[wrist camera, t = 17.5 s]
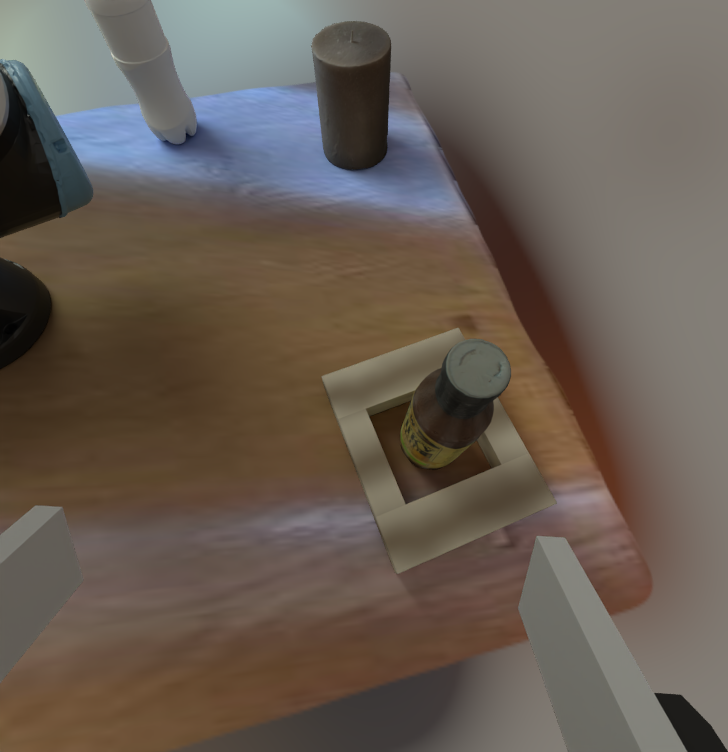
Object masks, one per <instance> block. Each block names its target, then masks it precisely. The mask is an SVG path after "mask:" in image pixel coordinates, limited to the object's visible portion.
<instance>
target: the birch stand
mask: <svg viewBox="0 0 728 752" xmlns="http://www.w3.org/2000/svg"><path fill="white" fill-rule="evenodd" d="M462 341H465V339H464V337H463V335H462V333H461V331H460V330H459V328H456V329H454V330H451V331H448V332H445V333H442V334H440V335H437V336H434V337H431V338H428V339H426V340H423V341H420V342H417V343H414V344H411V345H409V346H406V347H403V348H400V349H397V350H395V351H392V352H389V353H386V354H383V355H381V356H378V357H375V358H372V359H369V360H367V361H364V362H361V363H358V364H355V365H353V366H350V367H347V368H344V369H341V370H338V371H336V372H333V373H330V374H327V375H324V376H322V380H323V384H324V388H325V391H326V393H327V396H328V399H329V401H330V404H331V406H332V409H333V412H334V414H335V417H336V419H337V422H338V425H339V427H340V430H341V433H342V435H343V438H344V440H345V443H346V446H347V448H348V451H349V454H350V456H351V459H352V461H353V464H354V467H355V469H356V472H357V474H358V477H359V480H360V482H361V485H362V488H363V490H364V493H365V495H366V498H367V501H368V503H369V506H370V508H371V511H372V514H373V516H374V519H375V522H376V524H377V527H378V529H379V532H380V535H381V537H382V540H383V542H384V545H385V548H386V550H387V553H388V556H389V558H390V561H391V563H392V566H393V569H394V571H395V573H396V574H399V573H401V572H403V571H406V570H408V569H410V568H412V567H415V566H417V565H419V564H421V563H424V562H426V561H428V560H430V559H433V558H435V557H437V556H439V555H442V554H444V553H446V552H448V551H451V550H453V549H455V548H457V547H460V546H462V545H464V544H466V543H469V542H471V541H473V540H475V539H478V538H480V537H482V536H484V535H487V534H489V533H491V532H494V531H496V530H498V529H500V528H503V527H505V526H507V525H509V524H512V523H514V522H516V521H518V520H521V519H523V518H525V517H527V516H530V515H532V514H534V513H536V512H539V511H541V510H543V509H545V508H548V507H550V506H552V505H554V504H557V502H556V500H555V499H554V497H553V495H552V493H551V492H550V490H549V488H548V486H547V484H546V483H545V481H544V479H543V477H542V476H541V474H540V472H539V470H538V468H537V467H536V465H535V463H534V461H533V459H532V458H531V456H530V454H529V452H528V451H527V449H526V447H525V445H524V443H523V442H522V440H521V438H520V436H519V435H518V433H517V431H516V429H515V427H514V426H513V424H512V422H511V420H510V419H509V417H508V415H507V413H506V411H505V410H504V408H503V406H502V404H501V403H500V401H499V399H498V397H497V398H496V399H495V400H493V403H494V412H493V417H492V420H491V423H490V425H489V426H488V428H487V429H486V430H485V431H484V432H483V433H482V434H481V436H480V437H479V438H478V439H477V441H478V443H479V445H480V447H481V449H482V451H483V453H484V455H485V457H486V459H487V461H488V463H489V465H490V467H491V469H490V470H487V471H485V472H482V473H480V474H478V475H475V476H473V477H471V478H468V479H466V480H463V481H461V482H459V483H456V484H454V485H451V486H449V487H447V488H444V489H442V490H439V491H437V492H435V493H432V494H430V495H427V496H425V497H423V498H420V499H418V500H415V501H413V502H411V503H408V504H405V502H404V499H403V497H402V494H401V492H400V490H399V487H398V485H397V482H396V480H395V478H394V475H393V473H392V470H391V468H390V466H389V463H388V461H387V458H386V456H385V454H384V451H383V449H382V446H381V444H380V442H379V439H378V437H377V434H376V432H375V430H374V427H373V425H372V422H371V420H370V418H369V416H372V415H374V414H377V413H380V412H382V411H385V410H387V409H390V408H393V407H395V406H398V405H401V404H403V403H406V402H409V401H411V400H412V397H413V394H414V392H415V390H416V388H417V387H418V386H419V385H420V383H421V382H422V381H423V380H424V378H425V377H427V376H428V375H429V374H430V373H432V372H433V371H435V370H437V369H440V368H442V363H443V361H444V359H445V357H446V355H447V354H448V352H449V351H450V349H451V348H452V347H454V346H455V345H456V344H457V343H459V342H462Z"/></svg>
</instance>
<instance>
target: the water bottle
mask: <svg viewBox="0 0 728 752" xmlns="http://www.w3.org/2000/svg"><path fill="white" fill-rule="evenodd" d="M84 1H85V3H86V6H87V8H88V9H89V10H90V11H91V13H92V15H93V17H94V19H95V21H96V23H97V25H98V27H99V29H100V31H101V33H102V35H103V37H104V39H105V41H106V43H107V45H108V47H109V49H110V51H111V55H112V57H113V59H114V61H115V63H116V65H117V66H118V67H119V69H120V70H121V71H122V72H123V74H124V75H125V77H126V78H127V80H128V81H129V83H130V85H131V86H132V88H133V90H134V92H135V95H136V97H137V100H138V103H139V106H140V109H141V113H142V116H143V118H144V120H145V122H146V123H147V125H148V127H149V128H150V130H151V131H152V132H153V133H154V134H155V135H156V136H157V137H158V138H159V139H160V140H162V141H165V140H168V141H169V142H170V143H172V144H182V143H184V142H185V139H186V133H187V134H189V135H190V136H193V135H195V133H196V129H197V119H196V114H195V110H194V107H193V105H192V102H191V100H190V99H189V97H188V96H187V94H186V93H185V91H184V89H183V87H182V85H181V83H180V80H179V78H178V76H177V72H176V70H175V66H174V63H173V58H172V54H171V48H170V45H169V43H168V40H167V39H166V37H165V36H164V33H163V30H162V28H161V25H160V23H159V20H158V17H157V15H156V12H155V10H154V7H153V4H152V2H151V0H84Z"/></svg>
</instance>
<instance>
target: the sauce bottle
mask: <svg viewBox="0 0 728 752" xmlns="http://www.w3.org/2000/svg"><path fill="white" fill-rule="evenodd" d="M510 377H511V368H510V363H509V361H508V359H507V357H506V355H505V354H504V353H503V351H502V350H501V349H500V348H499V347H497V346H496V345H494V344H493V343H490V342H487V341H484V340H481V339H469V340H465V341H462V342H459V343H457V344H456V345H455V346H454V347H452V348H451V349H450V351H449V352H448V354H447V355H446V357H445V359H444V361H443V363H442V368H440V369H437V370H435V371H433V372H432V373H430V374H429V375H428V376H427V377H425V378H424V380H423V381H422V382H421V383H420V385H419V386H418V387H417V388H416V390H415V392H414V394H413V397H412V400H411V402H410V405H409V408H408V411H407V413H406V417H405V419H404V422H403V424H402V427H401V432H400V440H401V448H402V450H403V452H404V454H405V455H406V457H407V458H408V459H409V460H410V461H411V463H412V464H414V465H415V466H418V467H421V468H424V469H432V470H435V469H440V468H442V467H443V466H446V465H448V464H449V463H451V462H452V461H454V460H455V459H456V458H457V457H458V456H459V455H460V454H461V453H463V452H464V451H465V450H466V449H467V448H468V447H469V446H471V445H472V444H473V443H474V442H475V441H476V440H477V439H478V438H479V437H480V436H481V434H482V433H483V432H484V431H485V430H486V429H487V428H488V426H489V425H490V423H491V420H492V417H493V412H494V403H493V400H495V399H496V398H497V397H498V396H499V395H500V394H501V393H502V392H503V391H504V390H505V389H506V387H507V386H508V384H509V381H510Z"/></svg>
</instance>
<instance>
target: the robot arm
mask: <svg viewBox="0 0 728 752" xmlns="http://www.w3.org/2000/svg"><path fill="white" fill-rule="evenodd" d="M92 197H93V188H92V185H91V183H90V180H89V178H88V176H87V174H86V172H85V170H84V169H83V167H82V165H81V163H80V161H79V159H78V157H77V155H76V153H75V151H74V150H73V148H72V146H71V144H70V142H69V140H68V138H67V137H66V135H65V133H64V131H63V129H62V127H61V126H60V124H59V122H58V120H57V118H56V117H55V115H54V113H53V111H52V109H51V108H50V106H49V104H48V102H47V101H46V99H45V97H44V95H43V93H42V92H41V90H40V88H39V86H38V85H37V83H36V81H35V79H34V78H33V76H32V75H31V73H30V71H29V70H28V68H27V67H26V66H25V65H24V64H23V63H21V62H19V61H16V60H9V61H6V60H4V59H1V60H0V238H1V237H4V236H7V235H10V234H13V233H16V232H18V231H21V230H24V229H27V228H30V227H33V226H36V225H38V224H41V223H44V222H47V221H50V220H53V219H55V218H58V217H59V218H62V217H65V216H66V215H67V213H69V212H71V211H73V210H76V209H78V208H80V207H83V206H85V205H87V204H88V203H89V202H90V201H91V200H92ZM50 309H51V300H50V295H49V292H48V290H47V288H46V287H45V285H44V284H43V283H42V282H41V281H40V280H39V279H38V278H37V277H36V276H34V275H33V274H32V273H31V272H30V271H28V270H27V269H26V268H24V267H23V266H21V265H19V264H17V263H15V262H12V261H9V260H7V259H3V258H1V257H0V368H2V367H4V366H6V365H8V364H9V363H11V362H13V361H14V360H16V359H17V358H18V357H20V356H21V355H22V354H23V353H25V352H26V351H27V350H28V349H29V348H30V347H31V346H32V345H33V344H34V342H35V341H36V340H37V339H38V337H39V336H40V335H41V333H42V331H43V330H44V328H45V326H46V324H47V321H48V318H49V315H50ZM83 581H84V579H83V576H82V572H81V569H80V566H79V562H78V559H77V555H76V552H75V548H74V545H73V541H72V538H71V535H70V531H69V528H68V524H67V521H66V517H65V514H64V511H63V507H53V506H37V505H35V506H34V507H33V508H32V509H31V510H30V511H28V512H27V513H26V514H25V515H24V516H22V517H21V518H20V519H19V520H18V521H16V522H15V523H14V524H13V525H12V526H10V527H9V528H8V529H7V530H6V531H4V532H3V533H2V534H1V535H0V683H1V681H2V680H3V679H4V678H5V676H6V675H7V674H8V673H9V671H10V670H11V669H12V668H13V667H14V665H15V664H16V663H17V662H18V660H19V659H20V658H21V657H22V656H23V654H24V653H25V652H26V651H27V649H28V648H29V647H30V646H31V644H32V643H33V642H34V641H35V640H36V638H37V637H38V636H39V635H40V633H41V632H42V631H43V630H44V629H45V627H46V626H47V625H48V624H49V622H50V621H51V620H52V619H53V617H54V616H55V615H56V614H57V613H58V611H59V610H60V609H61V608H62V606H63V605H64V604H65V603H66V602H67V600H68V599H69V598H70V597H71V595H72V594H73V593H74V592H75V590H76V589H77V588H78V587H79V586H80V584H81V583H82V582H83ZM518 609H519V612H520V615H521V618H522V621H523V624H524V627H525V630H526V632H527V635H528V638H529V641H530V644H531V647H532V650H533V652H534V655H535V658H536V661H537V664H538V667H539V670H540V673H541V675H542V678H543V681H544V684H545V687H546V689H547V692H548V695H549V698H550V701H551V704H552V707H553V709H554V713H555V715H556V718H557V721H558V724H559V727H560V730H561V733H562V735H563V738H564V741H565V744H566V747H567V750H568V752H728V751H727V750H726V748H725V747H724V745H723V743H722V742H721V740H720V739H719V737H718V736H717V734H716V733H715V731H714V730H713V728H712V726H711V725H710V724H709V723H708V722H707V721H706V720H705V719H704V718H703V717H702V716H701V715H700V714H699V713H698V712H697V711H696V710H695V709H694V708H693V707H692V706H691V705H690V703H689V702H687V701H686V700H685V699H684V697H683V696H681V695H676V694H662V693H653V691H652V689H651V687H650V686H649V684H648V682H647V680H646V679H645V677H644V675H643V673H642V672H641V670H640V668H639V666H638V665H637V663H636V661H635V659H634V658H633V656H632V654H631V652H630V651H629V649H628V647H627V645H626V644H625V642H624V640H623V638H622V637H621V635H620V633H619V631H618V630H617V628H616V626H615V624H614V623H613V621H612V619H611V617H610V616H609V614H608V612H607V610H606V608H605V607H604V605H603V603H602V601H601V600H600V598H599V596H598V594H597V593H596V591H595V589H594V587H593V586H592V584H591V582H590V580H589V579H588V577H587V575H586V573H585V572H584V570H583V568H582V566H581V565H580V563H579V561H578V559H577V558H576V556H575V554H574V552H573V551H572V549H571V547H570V545H569V544H568V542H567V540H566V538H564V537H548V536H536V540H535V544H534V548H533V552H532V556H531V560H530V564H529V568H528V571H527V575H526V579H525V583H524V587H523V591H522V595H521V599H520V603H519V607H518Z"/></svg>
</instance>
